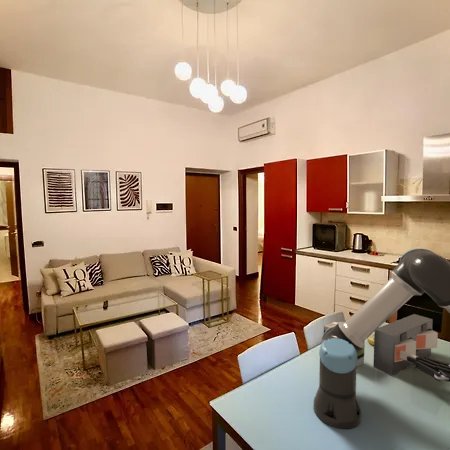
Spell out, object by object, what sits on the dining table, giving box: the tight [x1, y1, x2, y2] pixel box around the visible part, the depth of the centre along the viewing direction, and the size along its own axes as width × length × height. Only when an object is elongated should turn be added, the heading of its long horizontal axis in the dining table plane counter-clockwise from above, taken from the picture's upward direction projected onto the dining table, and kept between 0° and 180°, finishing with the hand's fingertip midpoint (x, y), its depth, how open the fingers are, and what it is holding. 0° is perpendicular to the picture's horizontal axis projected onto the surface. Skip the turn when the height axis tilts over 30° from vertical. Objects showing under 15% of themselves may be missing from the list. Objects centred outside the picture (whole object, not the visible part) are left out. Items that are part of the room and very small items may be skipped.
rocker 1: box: [394, 339, 416, 362], centre depth 122 cm, size 12×3×7 cm, turn 110°
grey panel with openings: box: [372, 313, 434, 377], centre depth 130 cm, size 34×8×17 cm, turn 121°
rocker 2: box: [416, 329, 439, 350], centre depth 132 cm, size 12×3×7 cm, turn 99°
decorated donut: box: [366, 333, 374, 347], centre depth 147 cm, size 10×11×4 cm
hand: (400, 353), depth 119 cm, fingers closed
